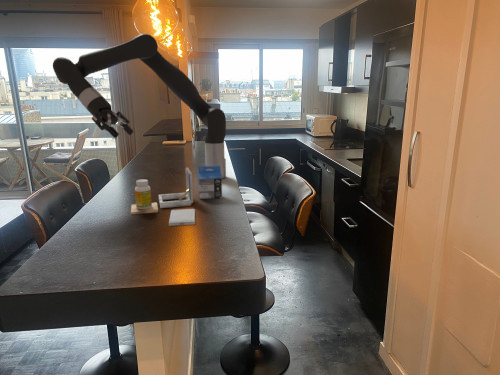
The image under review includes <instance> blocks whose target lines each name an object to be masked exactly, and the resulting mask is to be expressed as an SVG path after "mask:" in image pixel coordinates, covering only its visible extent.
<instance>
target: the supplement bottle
mask: <svg viewBox="0 0 500 375" xmlns="http://www.w3.org/2000/svg"><path fill="white" fill-rule="evenodd" d="M135 184H136V186H135V188H134V196H135V197H134V200H135V204H136V208H138V209H148V208H150V207H151V206H152V203H153V201H152V190H151V186H150V185H149V180H148V179H142V178H141V179H137V180H135Z"/></svg>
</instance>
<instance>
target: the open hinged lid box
mask: <svg viewBox="0 0 500 375" xmlns="http://www.w3.org/2000/svg"><path fill="white" fill-rule="evenodd" d="M184 171H185V186H186V187H185V188H186V189H185V192H178V193H177V192H176V193H163V194H158V201H159V206H160V207H159V208H160V209H166V208H177V207H179V208H180V207H188V206H189V207H190V206H192V204H194V195H193V194H194V189H193V186H194V185H193V173H192V171H191V170H190V169H189V167H185V170H184ZM167 200H168V201H167ZM169 200H170V201H169Z"/></svg>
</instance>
